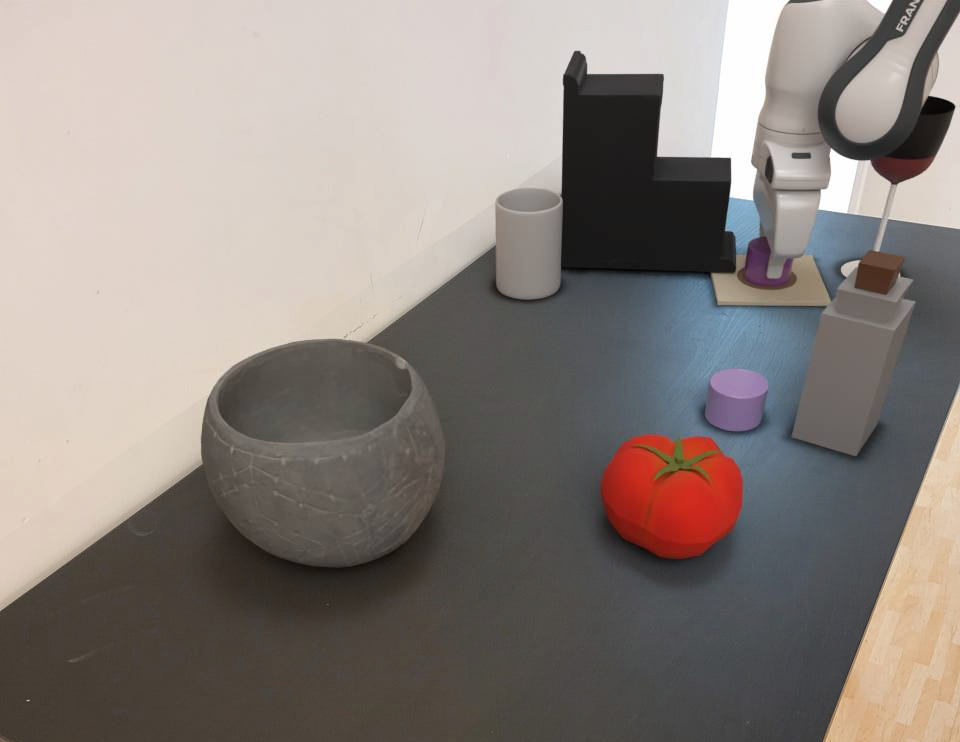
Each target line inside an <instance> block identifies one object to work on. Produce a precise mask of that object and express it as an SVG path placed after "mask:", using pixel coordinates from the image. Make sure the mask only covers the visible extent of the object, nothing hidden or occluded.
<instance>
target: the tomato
mask: <svg viewBox="0 0 960 742" xmlns="http://www.w3.org/2000/svg"><path fill="white" fill-rule="evenodd" d="M723 452H724V450H721V448H720V447H719V446H718V444H717V442H715V440H714V439H713V438H712V437H707V436H699V435H695V436H690V437H685V438H681V437H680V436H678V437H677V438H676V440H675V441H672V440H671V439H670V438H669V436H664V435H659V434H649V433H647V434H643V435H637V436H634V437H632V438H630V439H628V440H627V441H625V442H623V443H622V444H621V445H620V447H619V448H618V449H617V450H616V452H615V454H614V456H613V458H611V460H610V462H609V464H608V465H607V466H606V468H605V469H604V471H603V473H602V477H601V480H600V484H599V485H600V497H601V501H602V504H603V508H604V511H605V514H606V516H607V519H608V521H609V523H610V524H611V526H612V527H613V528H614V529H615V531H616V532H617V533H618V535H620V537H621V538H622V539H624V540H625V541H627V542H629V543H631V544H634V545H636V546H638V547H641V548H643V549H645V550H647V551H649V553H652V554H653V555H655V556H657V557H659V558H661V559H662V558H663V559H673V560H684V559H688V558H694V557H699V556H702V555H703V554H704V553H705V552H706V551H707V550H708V549H710V548H711V547H713V545H715V544H716V543H717V542H718V541H720V540H722V539H723V538H725V537H727V536H728V535H729V534H730V533H731V532H732V531H733V530H734V528H735V526H736V524H737V521H738V518H739V516H740V513H741V510H742V508H743V496H744V495H743V493H744V491H743V489H744V479H743V475H742V472H741V468H740V467H739V466H738V464H737V463H736V461H735V460H734V458H732V457H729V456H726V455H725V454H724V453H723Z"/></svg>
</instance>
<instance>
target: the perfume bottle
mask: <svg viewBox="0 0 960 742" xmlns="http://www.w3.org/2000/svg"><path fill="white" fill-rule="evenodd" d="M860 260H861V261H860V262H859V264H858V267H856V268H855V269H854V270H853V271H852V272H851V273H850V274H849V276H848V277H846V278H845V279H844V280H843V281H842V282H841V283H840V284H839V286H837V288H836V296H835V297H834V298H833V299H832V300H831V303H830V304H829V305H828V306H826V307H825V309H824V310H823V311H822V312H821V313H820V317H819V322H818V326H817V329H816V334H815V338H814V342H813V348H812V351H811V355H810V359H809V362H808V367H807V370H806V371H807V372H806V376H805V379H804V383H803V387H802V392H801V396H800V400H799V403H798V407H797V408H798V409H797V412H796V417H795V421H794V425H793V429H792V434H791V438H793V439H796V440H800V441H802V442H806V443H810V444H814V445H815V446H816V445H817V446H820V447H823V448H827V449H829V450H833V451H836V452H839V453H842V454H843V453H844V454H846V455H849V456H853V457H857V455H859V453H860V451H861V450H862V449H863V447H864V446H865V444H866V442H867V441H868V440H869V438H870V436H871V435H872V433H873V432H874V430H875V429H876V427H877V426H878V422H879V419H880V417H881V415H882V414H881V413H882V410H883V407H884V403H885V401H886V398H887V394H888V391H889V389H890V385H891V381H892V379H893V375H894V372H895V369H896V366H897V362H898V359H899V356H900V353H901V350H902V347H903V344H904V340H905V337H906V334H907V331H908V327H909V324H910V321H911V318H912V315H913V311H914V308H915V306H916V301H915V300H911V299H906V298H904V297H906V294H907V292H908V290H909V289H910V287H911V285H912V283H913V282H914V279H913V278H907V277H903V276H900V277H899V273H900V274H901V271H902V267H903V265H904V263H905V260H906V257H905V256H902V255H897V254H893V253H886V252H883V251H882V252H881V251H879V252H878V251H873V249H869V250H868V252H867V253H866V254H865V255H864V256H863V257H862V258H861V259H860Z"/></svg>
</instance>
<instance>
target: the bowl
mask: <svg viewBox="0 0 960 742" xmlns="http://www.w3.org/2000/svg"><path fill="white" fill-rule="evenodd" d="M446 448H447V447H446V442H445V437H444V432H443V428H442V424H441V420H440V417H439V413H438V409H437V407H436V405H435V403H434V401H433V398H432V396H431V392H430V391H429V389H428V387H427V385H426V384H425V382H424V380H423V378H422V377H421V375H420V374H419V373H418V371H417V370H416V368H414V367H413V366H412V365H411V364H410V363H409V362H408V361H407V360H405V359H404V358H403V357H401V356H400V355H399V354H397V353H395V352H393V351H391V350H389V349H387V348H385V347H382V346H379V345H376V344H373V343H368V342H362V341H358V340H351V339H343V338H342V339H341V338H317V339H316V338H315V339H305V340H297V341H292V342H288V343H284V344H281V345H277V346H274V347H270V348H266V349H265V350H261V351H260V352H257V353H255V354H252V355H249V356H248V357H246V358H244V359H241V360H240V361H238V362H237V363H235V364H233V365H232V366H231V367H230V368H229V369H228V370H227V371H225V372H224V373H223V374H222V375H221V376H220V377H219V378H218V380H217V381H216V383H214V385H213V387H212V389H211V391H210V393H209V395H208V397H207V400H206V403H205V408H204V412H203V418H202V424H201V434H200V455H201V462H202V467H203V472H204V475H205V479H206V482H207V485H208V487H209V489H210V491H211V494H212V496H213V498H214V500H215V502H216V504H217V505H218V506H219V508H220V510H221V511H222V512H223V514H224V515H225V517H226V518H227V520H228V521H229V522H230V524H232V526H234V528H235V529H236V530H237V531H238V532H239V533H240V534H241V535H242V536H243V537H245V538H246V539H247V540H249V541H250V542H251V543H252V544H254V546H257V547H258V548H260V549H262V550H263V551H265V552H266V553H268V554H270V555H272V556H275V557H278V558H280V559H283V560H287V561H290V562H293V563H297V564H300V565H304V566H310V567H318V568H321V567H322V568H338V569H339V568H348V567H349V568H350V567H355V566H359V565H362V564H366V563H370V562H373V561H375V560H379V559H380V558H382V557H384V556H387V555H389V554H391V553H392V552H394V551H396V550H397V549H398V548H399V547H400V546H402V545H404V544H405V543H406V542H407V541H409V539H410V538H411V537H412V536H413V534H415V533H416V532H417V530H418V529H419V527H420V525H421V524H422V523H423V522H424V520H425V519H426V517H427V516H428V513H429V512H430V510H431V509H432V506H433V505H434V503H435V501H436V498H437V497H438V494H439V492H440V488H441V484H442V481H443V477H444V475H443V473H444V470H445V462H446V450H447V449H446Z"/></svg>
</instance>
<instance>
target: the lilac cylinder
mask: <svg viewBox="0 0 960 742" xmlns="http://www.w3.org/2000/svg"><path fill="white" fill-rule="evenodd" d="M769 384H770V383H769V381H768V380H767V379H766V378H765V377H764V376H763V375H762V374H760V373H758V372H756V371H752V370H750V369H745V368H727V369H722V370H719V371H717V372H715V373H714V374H712V376H711V377H710V379H709V383H708V390H707V394H706V395H707V396H706V403H705V408H704V417H705V419H706V421H707V422H708V423H709V424H710V425H711V426H713V427H715V428H717V429H720V430H724V431H728V432H746V431H750V430H754V429H755V428H756V427H758V426H759V425H760V424H761V423H762V420H763V417H764V416H763V415H764V410H765V405H766V401H767V398H768V391H769V387H770V386H769Z"/></svg>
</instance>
